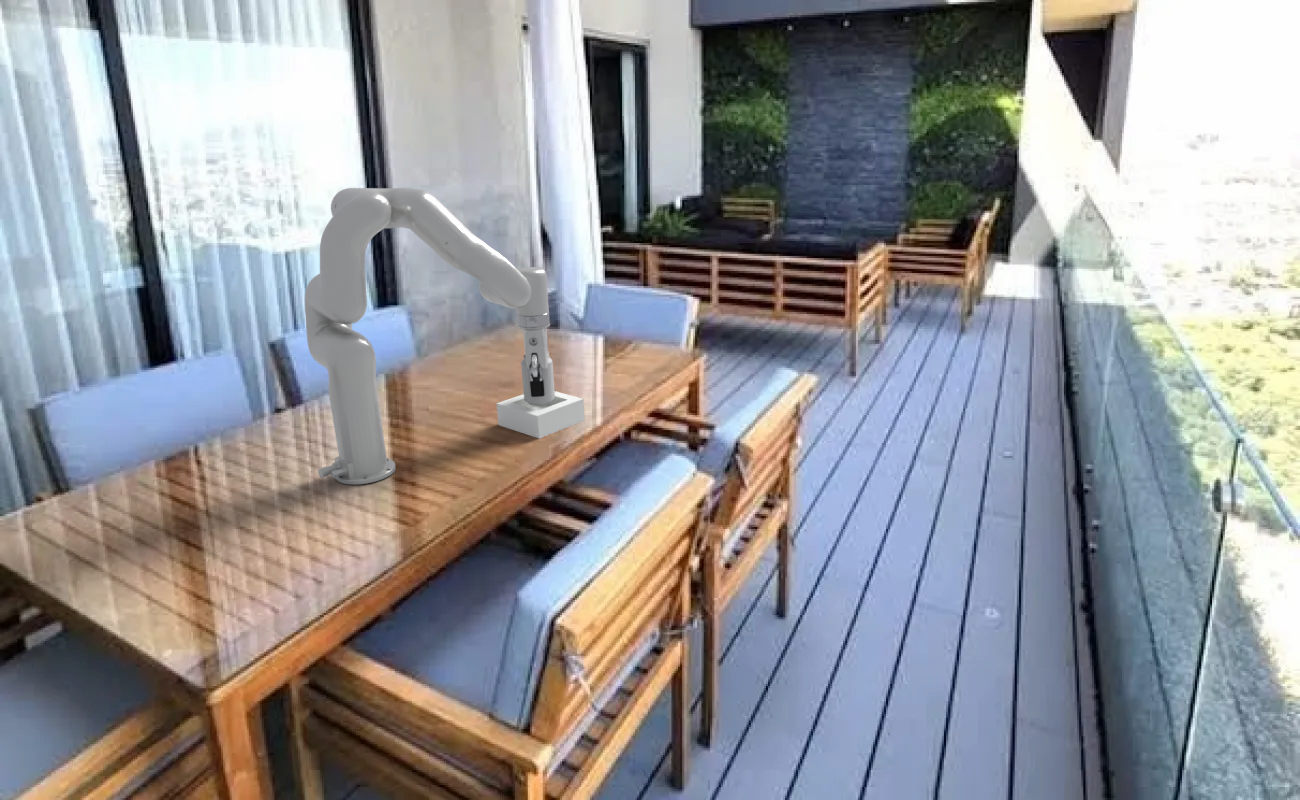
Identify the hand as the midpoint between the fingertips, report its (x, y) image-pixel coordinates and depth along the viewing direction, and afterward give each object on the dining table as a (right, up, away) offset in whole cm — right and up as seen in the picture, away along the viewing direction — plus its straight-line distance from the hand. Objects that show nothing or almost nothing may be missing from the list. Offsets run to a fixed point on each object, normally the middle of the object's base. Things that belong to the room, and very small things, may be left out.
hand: (538, 390), depth 205 cm
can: (0, -3, +1) cm, 3 cm away
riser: (0, -8, +3) cm, 9 cm away
